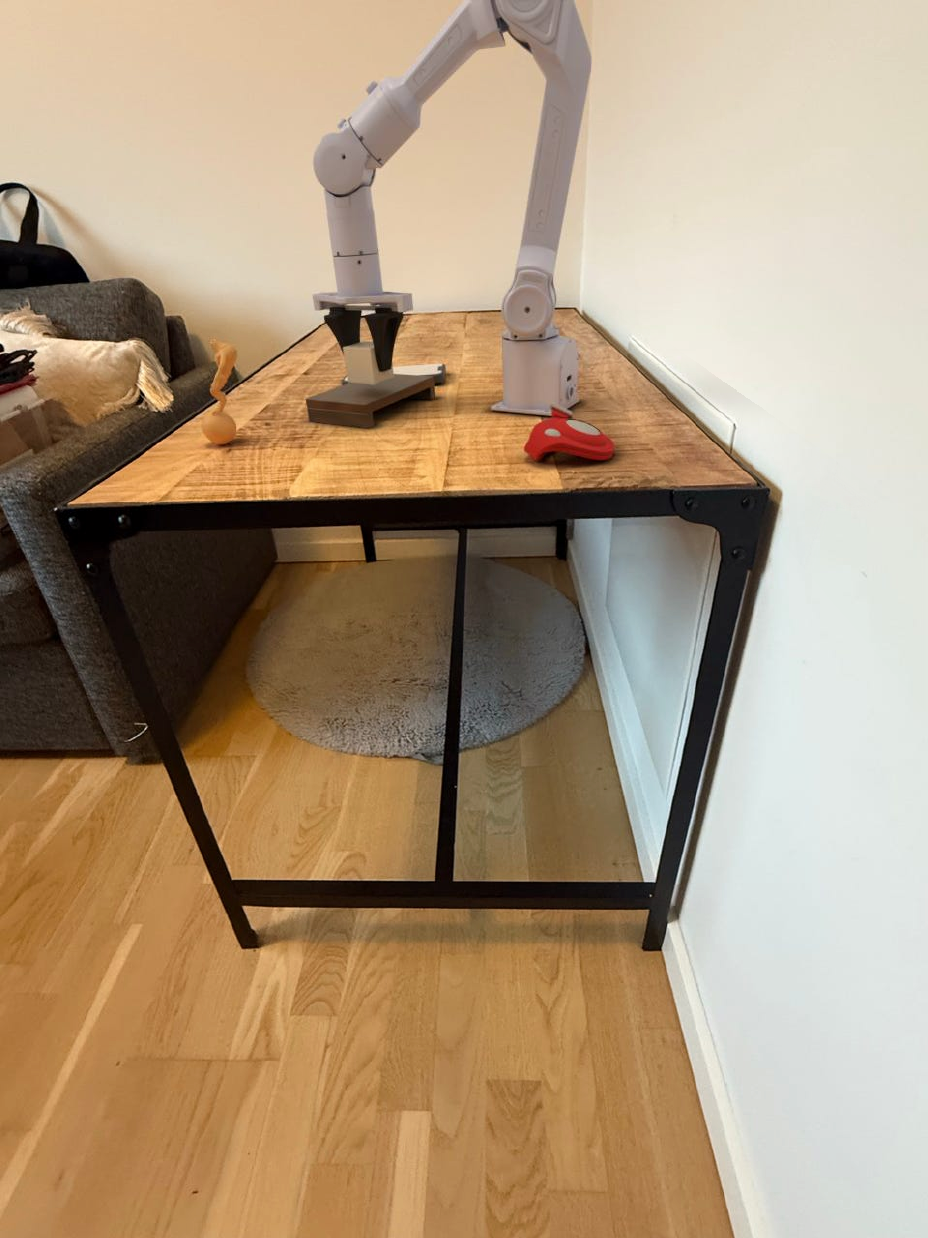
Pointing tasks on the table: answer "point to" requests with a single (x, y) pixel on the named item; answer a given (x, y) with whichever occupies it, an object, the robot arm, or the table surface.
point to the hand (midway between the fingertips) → (369, 369)
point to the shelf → (366, 399)
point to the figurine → (220, 396)
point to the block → (364, 364)
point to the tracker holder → (568, 437)
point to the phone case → (419, 371)
